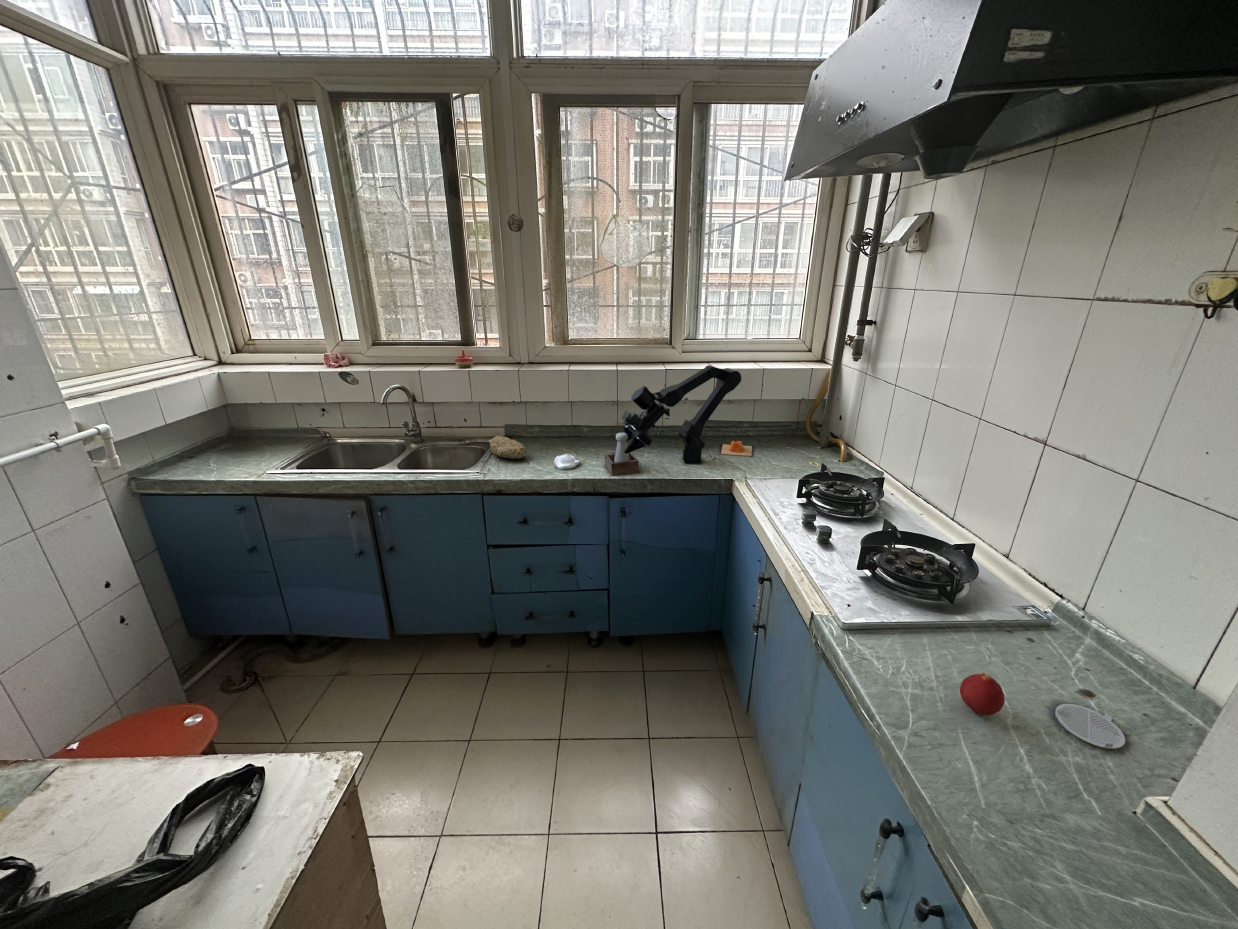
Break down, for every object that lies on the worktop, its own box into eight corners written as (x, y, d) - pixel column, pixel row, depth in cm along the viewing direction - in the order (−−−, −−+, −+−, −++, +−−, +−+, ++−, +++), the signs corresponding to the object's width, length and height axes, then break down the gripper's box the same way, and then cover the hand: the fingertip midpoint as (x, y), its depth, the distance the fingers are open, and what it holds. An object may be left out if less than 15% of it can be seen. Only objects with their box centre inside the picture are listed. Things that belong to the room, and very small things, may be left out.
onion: (981, 697, 85) (993, 660, 82) (1006, 726, 80) (1020, 687, 77) (947, 698, 85) (958, 661, 82) (971, 727, 79) (983, 688, 77)
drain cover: (1056, 696, 85) (1058, 692, 84) (1123, 723, 80) (1125, 718, 79) (1053, 728, 79) (1055, 723, 79) (1126, 759, 74) (1128, 754, 73)
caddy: (630, 462, 191) (630, 451, 190) (638, 472, 182) (638, 460, 180) (604, 465, 189) (604, 454, 187) (611, 475, 180) (611, 463, 178)
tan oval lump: (488, 453, 207) (492, 459, 188) (489, 434, 206) (493, 438, 187) (520, 455, 211) (527, 461, 192) (521, 436, 210) (528, 441, 192)
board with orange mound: (752, 446, 208) (752, 436, 206) (751, 456, 196) (752, 446, 195) (722, 444, 210) (723, 434, 209) (720, 453, 199) (721, 443, 198)
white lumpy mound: (550, 451, 191) (574, 448, 194) (551, 462, 192) (574, 458, 196) (558, 460, 182) (583, 456, 186) (558, 471, 184) (583, 467, 188)
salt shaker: (626, 463, 189) (626, 430, 184) (632, 468, 184) (632, 434, 179) (612, 465, 187) (611, 432, 182) (617, 470, 182) (617, 436, 177)
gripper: (627, 397, 186) (600, 428, 188) (643, 409, 169) (612, 443, 171) (647, 416, 191) (620, 446, 192) (664, 429, 174) (634, 462, 175)
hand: (621, 449), depth 183 cm, fingers open, 9 cm apart
